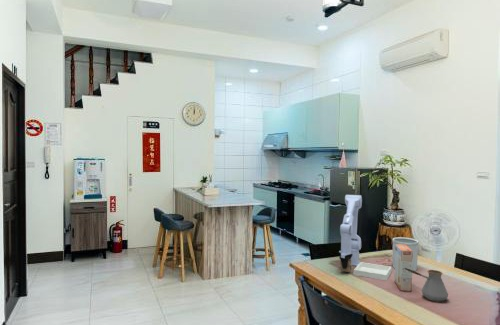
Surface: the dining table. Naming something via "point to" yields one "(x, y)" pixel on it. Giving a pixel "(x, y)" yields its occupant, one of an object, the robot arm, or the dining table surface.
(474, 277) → the dining table surface
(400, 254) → the cracker box
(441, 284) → the coffee pot
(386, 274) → the tray
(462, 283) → the dining table surface
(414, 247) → the utensil holder
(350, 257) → the robot arm
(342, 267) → the walnut block
